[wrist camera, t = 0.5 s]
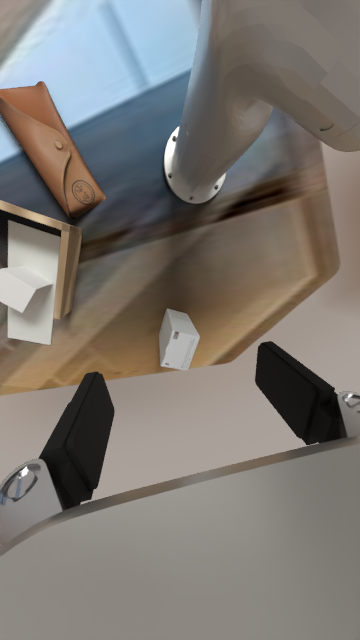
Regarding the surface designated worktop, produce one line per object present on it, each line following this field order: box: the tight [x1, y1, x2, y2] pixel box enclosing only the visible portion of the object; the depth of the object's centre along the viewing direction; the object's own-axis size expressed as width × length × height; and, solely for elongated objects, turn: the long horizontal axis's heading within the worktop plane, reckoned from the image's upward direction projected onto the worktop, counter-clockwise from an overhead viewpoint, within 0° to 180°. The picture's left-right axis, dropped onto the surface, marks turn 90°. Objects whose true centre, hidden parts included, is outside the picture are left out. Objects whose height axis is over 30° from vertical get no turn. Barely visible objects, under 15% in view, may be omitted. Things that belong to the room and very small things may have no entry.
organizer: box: [0, 200, 83, 319], centre depth 33 cm, size 16×18×6 cm
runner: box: [8, 220, 61, 345], centre depth 38 cm, size 26×9×1 cm, turn 161°
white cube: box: [0, 266, 53, 313], centre depth 35 cm, size 6×6×6 cm
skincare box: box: [159, 309, 200, 371], centre depth 39 cm, size 8×6×15 cm
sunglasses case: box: [0, 81, 106, 219], centre depth 30 cm, size 18×7×7 cm
